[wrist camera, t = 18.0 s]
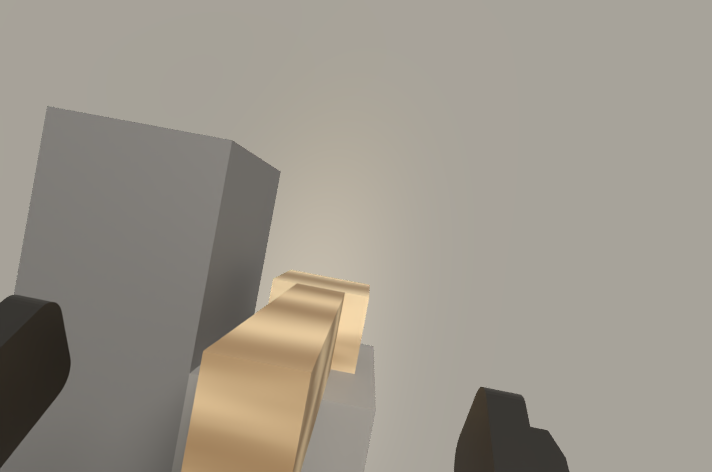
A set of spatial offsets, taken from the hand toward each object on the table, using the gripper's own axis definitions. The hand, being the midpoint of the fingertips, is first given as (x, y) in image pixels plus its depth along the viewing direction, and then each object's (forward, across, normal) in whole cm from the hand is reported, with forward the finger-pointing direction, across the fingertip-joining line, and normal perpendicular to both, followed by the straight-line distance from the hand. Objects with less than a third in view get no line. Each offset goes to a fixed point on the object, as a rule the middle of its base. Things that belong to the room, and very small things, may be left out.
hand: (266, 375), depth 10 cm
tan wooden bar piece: (+8, 0, -10) cm, 13 cm away
